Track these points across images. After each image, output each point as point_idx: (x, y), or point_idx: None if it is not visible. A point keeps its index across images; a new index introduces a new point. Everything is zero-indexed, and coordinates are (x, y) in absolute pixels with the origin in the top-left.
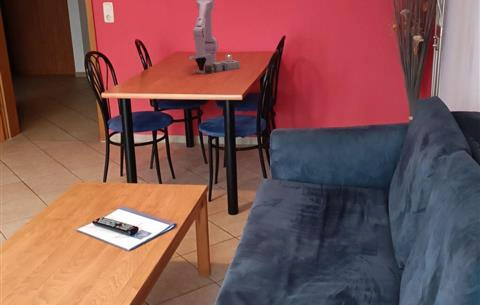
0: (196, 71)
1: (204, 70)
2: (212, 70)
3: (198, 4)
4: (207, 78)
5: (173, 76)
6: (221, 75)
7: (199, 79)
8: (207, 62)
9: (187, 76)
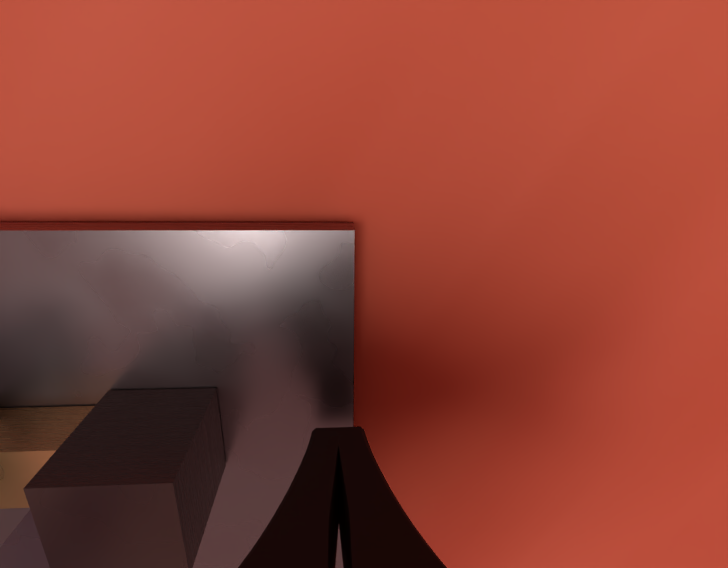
0: (336, 555)
1: None
2: (69, 415)
3: None
4: (474, 7)
5: (688, 553)
6: (26, 50)
7: (653, 58)
8: None
9: (577, 440)
